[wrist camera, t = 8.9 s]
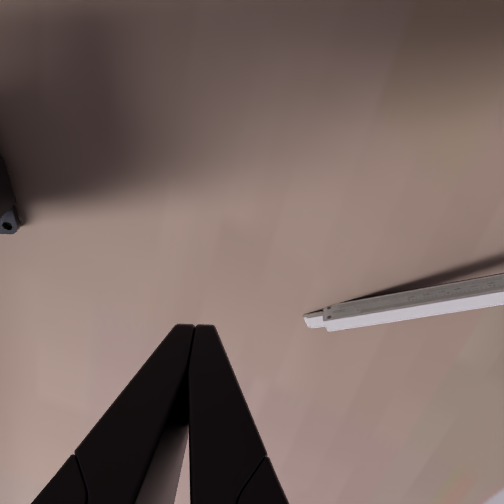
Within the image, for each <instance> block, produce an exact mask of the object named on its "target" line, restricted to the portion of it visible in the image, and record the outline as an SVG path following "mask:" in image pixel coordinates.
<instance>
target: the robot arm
mask: <svg viewBox="0 0 504 504" xmlns="http://www.w3.org/2000/svg"><path fill="white" fill-rule="evenodd" d="M15 203H16V199H15V195H14V192H13V189H12V185H11V182H10V178H9V175H8V172H7V168H6V165H5V162H4V158H3V157H2V156H1V155H0V234H14V233H15V232H17V230H18V229H19V228H20V226H21V223H20V219H19V216H18V213H17V209H16V206H15ZM6 222H9V223H10V224H11V225H12V226H9V225H8V224H7V223H6ZM188 433H189V461H190V504H289V502H288V500H287V498H286V495H285V493H284V491H283V489H282V487H281V484H280V482H279V480H278V478H277V475H276V473H275V471H274V468H273V466H272V463H271V461H270V458H269V457H267V452H266V449H265V447H264V444H263V442H262V439H261V437H260V435H259V432H258V430H257V427H256V425H255V422H254V420H253V417H252V415H251V413H250V410H249V408H248V405H247V403H246V400H245V398H244V396H243V393H242V391H241V388H240V386H239V383H238V381H237V379H236V376H235V374H234V371H233V369H232V366H231V364H230V361H229V359H228V357H227V354H226V352H225V349H224V347H223V344H222V342H221V340H220V337H219V335H218V332H217V330H216V327H215V326H214V325H204V324H198V325H196V327H195V326H194V325H193V324H177V325H175V326H174V327H173V328H172V330H171V331H170V332H169V333H168V335H167V336H166V337H165V338H164V340H163V341H162V342H161V343H160V345H159V346H158V347H157V349H156V350H155V351H154V352H153V354H152V355H151V356H150V357H149V359H148V360H147V361H146V362H145V364H144V365H143V366H142V367H141V369H140V370H139V371H138V372H137V374H136V375H135V376H134V377H133V379H132V380H131V381H130V382H129V384H128V385H127V386H126V387H125V389H124V390H123V391H122V392H121V394H120V395H119V396H118V397H117V399H116V400H115V401H114V402H113V404H112V405H111V406H110V407H109V409H108V410H107V411H106V412H105V414H104V415H103V416H102V417H101V419H100V420H99V421H98V422H97V424H96V425H95V426H94V427H93V429H92V430H91V431H90V432H89V434H88V435H87V436H86V437H85V439H84V440H83V441H82V442H81V444H80V445H79V446H78V447H77V449H76V450H75V452H74V453H75V455H74V454H72V455H71V456H70V457H69V458H68V459H67V461H66V462H65V463H64V465H63V466H62V467H61V468H60V470H59V471H58V472H57V473H56V475H55V476H54V477H53V478H52V479H51V480H50V482H49V483H48V484H47V485H46V486H45V488H44V489H43V490H42V491H41V492H40V494H39V495H38V496H37V497H36V498H35V499H34V501H33V502H32V503H31V504H174V501H175V496H176V491H177V486H178V482H179V477H180V472H181V467H182V463H183V458H184V453H185V448H186V444H187V439H188Z"/></svg>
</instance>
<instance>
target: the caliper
mask: <svg viewBox="0 0 504 504" xmlns="http://www.w3.org/2000/svg"><path fill="white" fill-rule="evenodd" d="M497 305H504V273H501V274H496V275H490V276H485V277H479V278H474V279H468V280H463V281H457V282H452V283H446V284H441V285H435V286H430V287H424V288H418V289H413V290H407V291H401V292H396V293H390V294H384V295H378V296H373V297H367V298H361V299H356V300H350V301H345V302H342V303H339V304H336V305H333V306H329V307H326V308H323V311H320V312H314V313H308V314H305V315H303V317H304V319H305V321H306V324H307V326H308V327H311V328H319V327H326V329H327V331H328V332H330V331H337V330H343V329H350V328H356V327H363V326H369V325H376V324H382V323H389V322H395V321H402V320H408V319H415V318H421V317H427V316H434V315H440V314H446V313H453V312H459V311H466V310H472V309H478V308H485V307H491V306H497Z"/></svg>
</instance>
